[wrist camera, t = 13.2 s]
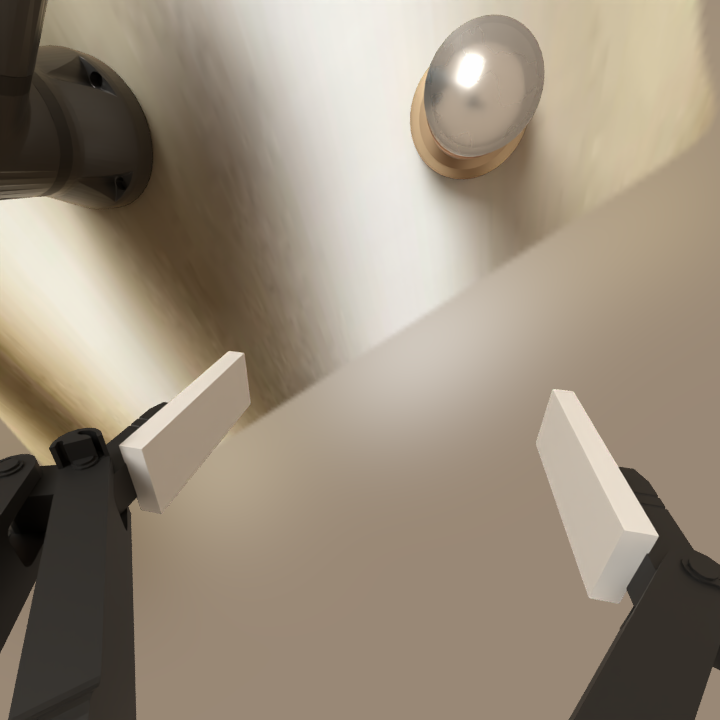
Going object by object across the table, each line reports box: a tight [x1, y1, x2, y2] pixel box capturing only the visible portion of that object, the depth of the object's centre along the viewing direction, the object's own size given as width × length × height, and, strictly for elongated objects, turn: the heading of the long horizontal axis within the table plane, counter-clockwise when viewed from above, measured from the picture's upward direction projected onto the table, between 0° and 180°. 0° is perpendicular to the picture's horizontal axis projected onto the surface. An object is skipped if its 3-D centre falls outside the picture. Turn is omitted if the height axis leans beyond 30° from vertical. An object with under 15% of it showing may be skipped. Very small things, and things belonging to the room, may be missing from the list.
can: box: [424, 15, 544, 160], centre depth 27 cm, size 7×7×12 cm
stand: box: [410, 68, 527, 179], centre depth 33 cm, size 10×10×3 cm
